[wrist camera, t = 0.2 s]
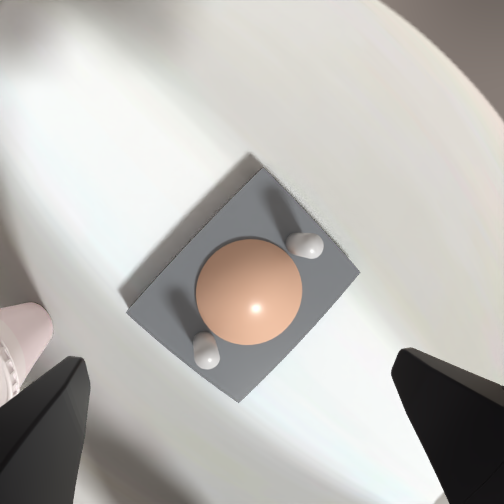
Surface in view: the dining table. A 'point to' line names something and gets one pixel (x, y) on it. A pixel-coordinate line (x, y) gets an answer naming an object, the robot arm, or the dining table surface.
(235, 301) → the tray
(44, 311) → the smoothie
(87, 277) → the dining table surface
